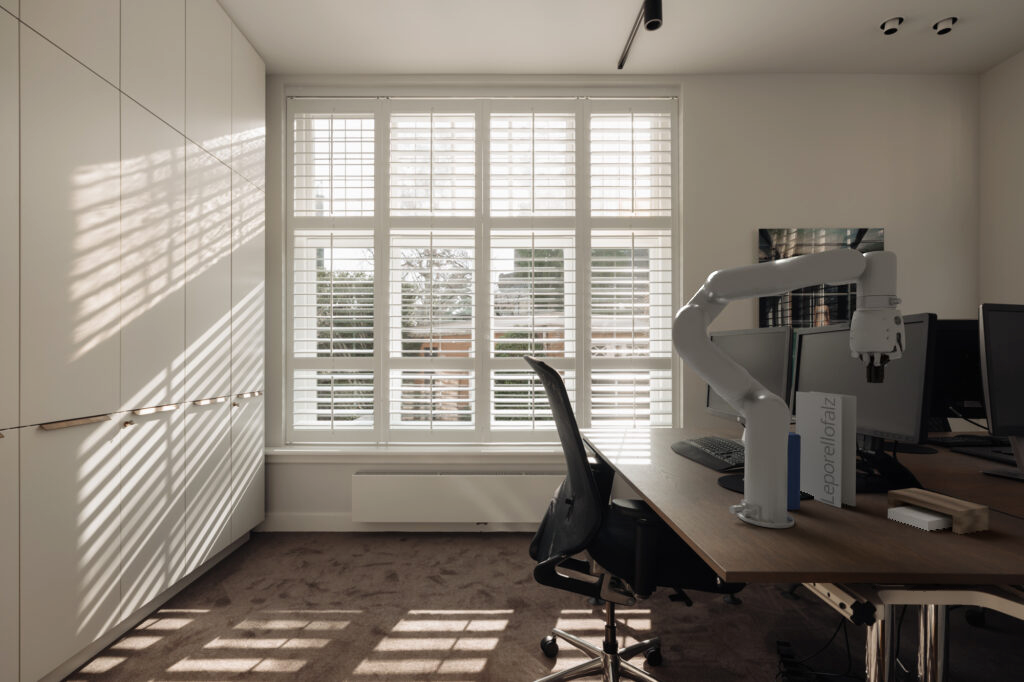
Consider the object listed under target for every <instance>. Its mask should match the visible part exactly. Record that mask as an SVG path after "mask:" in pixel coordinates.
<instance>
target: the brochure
mask: <svg viewBox="0 0 1024 682" xmlns="http://www.w3.org/2000/svg"><path fill="white" fill-rule="evenodd" d="M795 392H796V393H795V395H796V396H795V434H799V435H800V436H801V462H800V491H802V492H805V493H808V494H810V495H812V496H814V499H813V500H815V501H818V502H820V503H824V504H828V505H830V506H833V507H837V508H839V509H842V505H846V504H847V505H846V506H851V507H856V486H857V485H856V483H857V482H856V481H857V479H856V478H857V477H856V475H857V474H856V473H857V470H856V467H857V464H856V463H857V462H856V461H857V396H856V395H848V394H847V395H846V394H839V393H827V392H820V391H811V390H810V391H809V392H807V391H806V392H805V391H804V392H803V391H795ZM842 503H843V504H842Z"/></svg>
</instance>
